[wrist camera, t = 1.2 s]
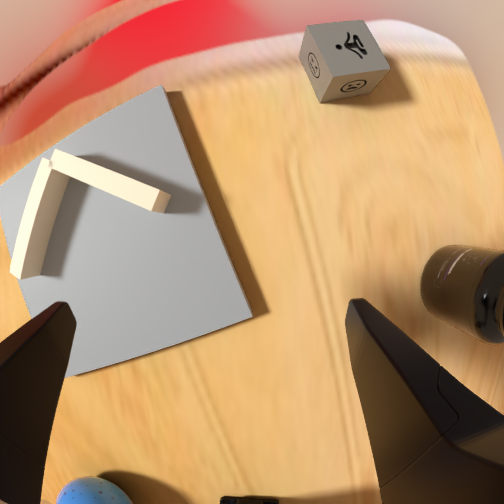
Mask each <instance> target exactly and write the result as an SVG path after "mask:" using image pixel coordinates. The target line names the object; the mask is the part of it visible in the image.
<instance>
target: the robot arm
mask: <svg viewBox="0 0 504 504" xmlns="http://www.w3.org/2000/svg"><path fill="white" fill-rule="evenodd" d="M76 327H77V321H76V318H75V316H74V314H73V312H72V310H71V308H70V306H69V304H68V303H67V302H65V301H57V302H55V303H53V304H52V305H50V306H49V307H48V308H46V309H45V310H43V311H42V312H41V313H39V314H38V315H37V316H35V317H34V318H32V319H31V320H30V321H28V322H27V323H26V324H24V325H23V326H22V327H20V328H19V329H18V330H16V331H15V332H14V333H12V334H11V335H10V336H8V337H7V338H6V339H5V340H3V341H2V342H1V343H0V504H40V501H41V492H42V484H43V476H44V470H45V468H44V467H45V462H46V456H47V451H48V445H49V440H50V435H51V430H52V426H53V421H54V417H55V413H56V408H57V404H58V400H59V396H60V393H61V389H62V385H63V381H64V378H65V374H66V371H67V367H68V364H69V359H70V354H71V349H72V345H73V340H74V335H75V331H76ZM345 327H346V333H347V339H348V346H349V352H350V359H351V366H352V371H353V375H354V379H355V383H356V387H357V390H358V394H359V398H360V402H361V406H362V410H363V414H364V418H365V423H366V427H367V431H368V435H369V440H370V444H371V449H372V453H373V458H374V463H375V467H376V472H377V477H378V482H379V487H380V488H381V489H380V493H381V499H382V504H504V415H502V414H501V413H500V412H498V411H497V410H496V409H494V408H493V407H492V406H490V405H489V404H488V403H486V402H485V401H484V400H482V399H481V398H480V397H478V396H477V395H476V394H474V393H473V392H472V391H470V390H469V389H468V388H467V387H465V386H464V385H463V384H462V383H460V382H459V381H458V380H457V379H456V378H455V377H453V376H452V375H451V374H450V373H449V372H448V371H447V370H446V369H444V368H443V367H442V366H440V364H439V363H438V362H437V361H435V360H434V359H433V358H432V357H431V356H430V355H429V354H428V353H426V352H425V351H424V350H423V349H422V348H421V347H420V346H419V345H417V344H416V343H415V342H414V341H413V340H412V339H411V338H409V337H408V336H407V335H406V334H405V333H404V332H403V331H401V330H400V329H399V328H398V327H397V326H396V325H395V324H393V323H392V322H391V321H390V320H389V319H388V318H386V317H385V316H384V315H383V314H382V313H381V312H379V311H378V310H377V309H376V308H375V307H374V306H372V305H371V304H370V303H369V302H368V301H366V300H365V299H364V298H355V299H351V300H350V301H349V305H348V309H347V314H346V319H345ZM224 500H225V501H224ZM220 504H279V501H278V500H269V499H246V498H232V497H221V498H220Z"/></svg>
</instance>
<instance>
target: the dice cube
mask: <svg viewBox="0 0 504 504" xmlns="http://www.w3.org/2000/svg"><path fill="white" fill-rule="evenodd" d="M299 59H300V61H301V63H302V65H303V67H304V69H305V71H306V73H307V76H308V78H309V80H310V82H311V84H312V87H313V89H314V91H315V94H316V96H317V98H318V100H319V103H323V102H327V101H332V100H337V99H342V98H347V97H352V96H358V95H363V94H369V93H371V92H372V91H373V89H374V88H375V87H376V86H377V85H378V83H379V82H380V81H381V80H382V79H383V78H384V76H385V75H386V74H387V73H388V72H389V71H390V69H391V68H390V66H389V64H388V62H387V60H386V59H385V57H384V55H383V53H382V51H381V49H380V48H379V46H378V44H377V42H376V41H375V39H374V37H373V35H372V34H371V32H370V30H369V29H368V27H367V25H366V24H365V22H364V21H363V20H357V21H343V22H333V23H324V24H316V25H308V26H306V30H305V34H304V38H303V42H302V46H301V50H300V54H299Z"/></svg>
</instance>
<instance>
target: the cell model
mask: <svg viewBox="0 0 504 504" xmlns="http://www.w3.org/2000/svg"><path fill="white" fill-rule="evenodd" d="M56 504H133V503H132V501H131V500H130V498H129V497H128V496H127V494H126V493H125V492H124V491H123V490H122V489H120V488H119V487H118V486H117V485H115V484H113V483H112V482H110V481H108V480H105V479H103V478H99V477H94V476H84V477H79V478H76V479H74V480H72V481H70V482H68V483H67V484H66V485H65V486H64V487H63V488H62V489H61V490H60V492H59V493H58V495H57V499H56Z"/></svg>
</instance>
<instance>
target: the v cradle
mask: <svg viewBox="0 0 504 504" xmlns="http://www.w3.org/2000/svg"><path fill="white" fill-rule="evenodd" d="M0 216H1V221H2V225H3V230H4V234H5V238H6V242H7V246H8V249H9V253H10V257H11V260H12V262H11V267H10V273H11V274H13V275H14V276H15V277H17V280H18V283H19V286H20V288H21V291H22V294H23V297H24V300H25V302H26V305H27V308H28V310H29V313H30V316H31V318H34V317H35V316H37V315H38V314H39V313H41V312H42V311H43V310H45V309H46V308H48V307H49V306H50V305H52V304H53V303H55V302H57V301H65V302H67V303H68V304H69V306H70V308H71V310H72V312H73V314H74V316H75V318H76V321H77V327H76V331H75V335H74V340H73V345H72V349H71V354H70V359H69V364H68V367H67V371H66V374H65V378H66V377H70V376H73V375H77V374H81V373H84V372H88V371H91V370H95V369H98V368H102V367H105V366H108V365H112V364H115V363H118V362H122V361H125V360H128V359H131V358H135V357H138V356H141V355H144V354H147V353H150V352H154V351H157V350H160V349H163V348H166V347H169V346H172V345H175V344H178V343H181V342H184V341H187V340H189V339H192V338H195V337H198V336H201V335H204V334H207V333H209V332H212V331H215V330H218V329H221V328H223V327H226V326H229V325H232V324H234V323H237V322H240V321H242V320H245V319H248V318H250V317H253V311H252V309H251V306H250V304H249V302H248V299H247V297H246V294H245V292H244V290H243V287H242V285H241V282H240V280H239V277H238V275H237V273H236V270H235V268H234V265H233V263H232V260H231V258H230V255H229V253H228V250H227V248H226V245H225V243H224V240H223V238H222V235H221V233H220V231H219V228H218V225H217V223H216V220H215V218H214V215H213V213H212V210H211V208H210V205H209V203H208V200H207V198H206V195H205V193H204V190H203V188H202V185H201V182H200V180H199V177H198V175H197V172H196V170H195V167H194V164H193V162H192V159H191V157H190V154H189V151H188V149H187V146H186V143H185V141H184V138H183V136H182V133H181V130H180V128H179V125H178V122H177V120H176V117H175V114H174V112H173V109H172V106H171V104H170V101H169V98H168V96H167V93H166V91H165V89H164V88H163V86H162V85H160V86H157V87H155V88H153V89H151V90H149V91H147V92H145V93H143V94H141V95H139V96H137V97H135V98H133V99H131V100H129V101H127V102H125V103H123V104H121V105H119V106H117V107H116V108H114V109H112V110H110V111H108V112H107V113H105V114H103V115H101V116H100V117H98V118H96V119H94V120H93V121H91V122H89V123H88V124H86V125H84V126H83V127H81V128H79V129H78V130H76V131H75V132H73V133H72V134H70V135H68V136H67V137H65V138H64V139H62V140H61V141H59V142H58V143H56V144H55V145H53V146H52V147H51V148H49V149H48V150H46V151H45V152H43V153H42V154H41V155H39V156H38V157H36V158H35V159H34V160H32V161H31V162H30V163H28V164H27V165H26V166H24V167H23V168H22V169H21V170H19V171H18V172H17V173H16V174H14V175H13V176H12V177H11V178H9V179H8V180H7V181H6V182H4V183H3V184H2V185H1V186H0Z"/></svg>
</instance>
